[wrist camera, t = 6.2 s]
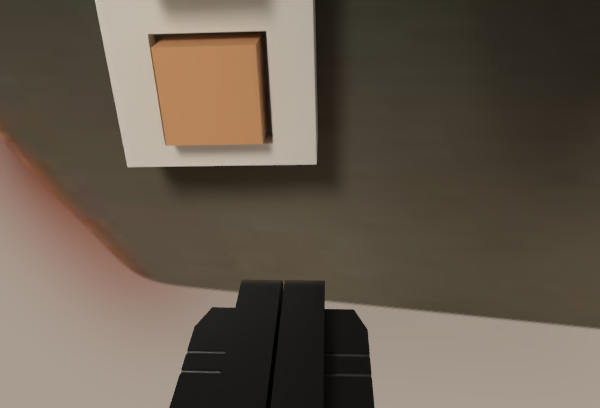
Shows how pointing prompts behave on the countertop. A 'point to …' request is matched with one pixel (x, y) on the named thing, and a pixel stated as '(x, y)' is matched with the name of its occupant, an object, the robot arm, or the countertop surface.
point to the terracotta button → (212, 88)
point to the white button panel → (214, 19)
